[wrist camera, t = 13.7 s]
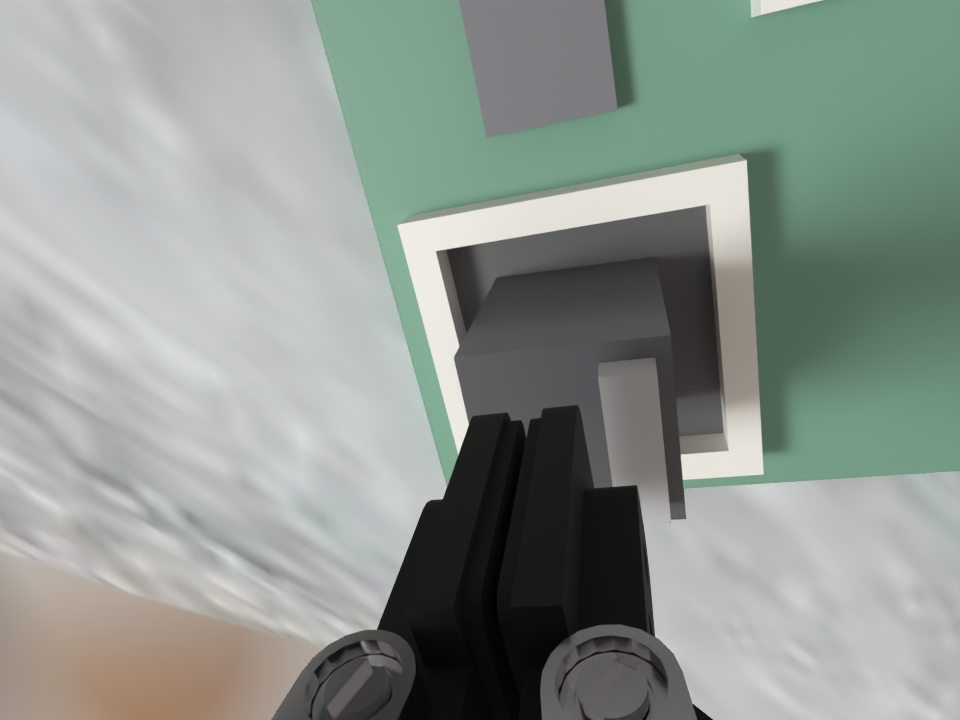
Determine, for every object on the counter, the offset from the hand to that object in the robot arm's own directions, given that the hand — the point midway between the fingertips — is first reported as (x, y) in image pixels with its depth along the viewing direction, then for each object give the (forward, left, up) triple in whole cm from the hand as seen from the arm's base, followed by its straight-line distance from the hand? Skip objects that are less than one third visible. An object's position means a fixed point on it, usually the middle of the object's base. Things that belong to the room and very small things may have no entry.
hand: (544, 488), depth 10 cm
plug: (+1, 0, -7) cm, 7 cm away
